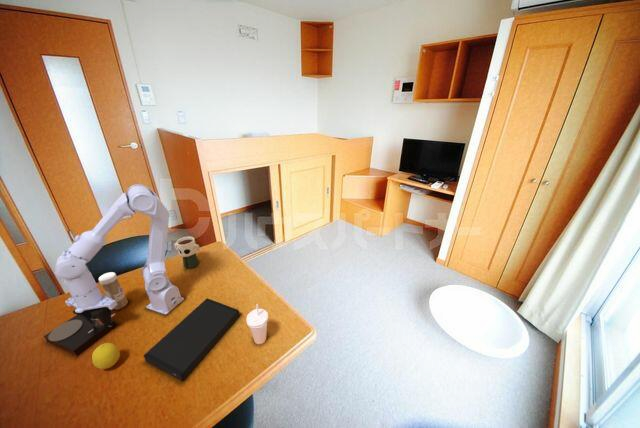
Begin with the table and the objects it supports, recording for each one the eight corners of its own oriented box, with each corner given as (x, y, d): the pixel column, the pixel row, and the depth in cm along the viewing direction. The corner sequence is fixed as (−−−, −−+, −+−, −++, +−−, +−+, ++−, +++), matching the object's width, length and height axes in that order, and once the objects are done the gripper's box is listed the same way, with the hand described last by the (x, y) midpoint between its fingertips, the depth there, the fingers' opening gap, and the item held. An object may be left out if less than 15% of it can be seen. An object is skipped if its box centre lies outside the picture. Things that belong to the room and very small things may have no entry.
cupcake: (112, 319, 78) (108, 310, 76) (102, 328, 74) (97, 319, 73) (102, 317, 78) (97, 309, 76) (91, 327, 75) (86, 318, 73)
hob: (126, 322, 80) (123, 316, 78) (80, 357, 69) (76, 351, 67) (94, 310, 84) (91, 304, 83) (47, 341, 73) (43, 335, 72)
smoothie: (274, 333, 77) (271, 301, 71) (263, 351, 71) (259, 317, 65) (257, 327, 79) (252, 295, 73) (245, 344, 73) (239, 311, 67)
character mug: (175, 269, 105) (167, 244, 99) (184, 259, 111) (178, 235, 106) (199, 270, 104) (193, 245, 99) (207, 260, 111) (201, 236, 105)
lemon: (103, 379, 63) (91, 360, 60) (95, 368, 66) (83, 349, 63) (127, 362, 68) (117, 343, 64) (118, 352, 70) (108, 333, 67)
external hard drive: (239, 316, 83) (238, 310, 81) (183, 382, 63) (180, 375, 62) (208, 304, 87) (206, 298, 86) (146, 362, 68) (142, 355, 66)
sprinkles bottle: (127, 306, 86) (114, 277, 80) (111, 312, 83) (96, 282, 78) (128, 298, 89) (115, 269, 83) (113, 303, 87) (98, 274, 81)
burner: (88, 324, 76) (88, 323, 76) (58, 344, 69) (58, 344, 69) (73, 317, 78) (72, 316, 78) (42, 337, 71) (42, 336, 71)
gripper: (46, 297, 67) (67, 331, 73) (94, 301, 66) (112, 334, 72) (72, 280, 73) (89, 312, 79) (116, 284, 73) (130, 315, 78)
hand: (101, 322), depth 76 cm, fingers closed on cupcake, 3 cm apart
